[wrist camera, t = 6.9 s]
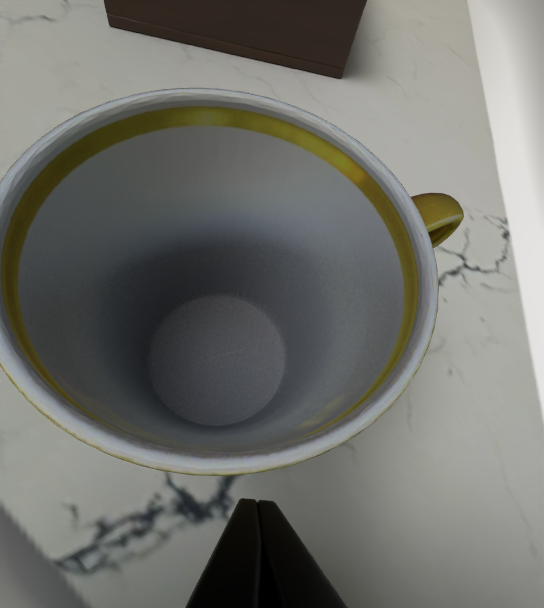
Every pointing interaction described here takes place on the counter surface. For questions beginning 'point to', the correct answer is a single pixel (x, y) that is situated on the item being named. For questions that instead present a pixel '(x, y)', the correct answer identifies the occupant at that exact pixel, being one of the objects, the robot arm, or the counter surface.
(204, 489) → the counter surface
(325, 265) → the ceramic cup
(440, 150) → the counter surface
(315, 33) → the crate
